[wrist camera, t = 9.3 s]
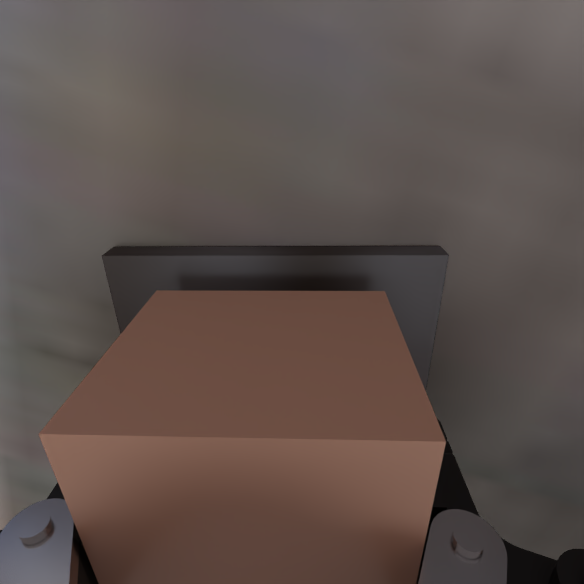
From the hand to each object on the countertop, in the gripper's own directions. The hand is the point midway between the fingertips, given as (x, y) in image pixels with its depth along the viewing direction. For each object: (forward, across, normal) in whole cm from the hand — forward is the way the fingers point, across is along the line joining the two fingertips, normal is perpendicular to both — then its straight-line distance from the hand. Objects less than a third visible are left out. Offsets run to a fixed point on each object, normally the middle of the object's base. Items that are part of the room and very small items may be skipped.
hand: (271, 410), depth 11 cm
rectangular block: (+1, 0, +6) cm, 6 cm away
